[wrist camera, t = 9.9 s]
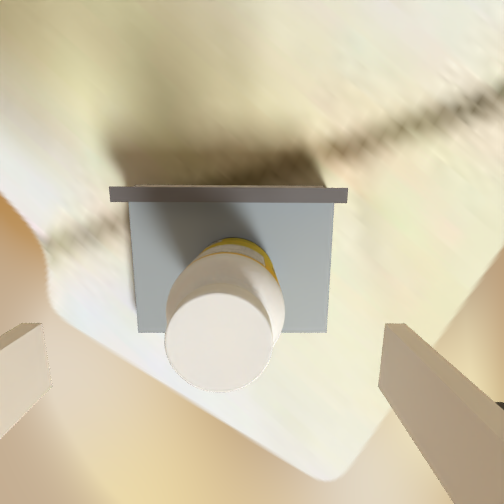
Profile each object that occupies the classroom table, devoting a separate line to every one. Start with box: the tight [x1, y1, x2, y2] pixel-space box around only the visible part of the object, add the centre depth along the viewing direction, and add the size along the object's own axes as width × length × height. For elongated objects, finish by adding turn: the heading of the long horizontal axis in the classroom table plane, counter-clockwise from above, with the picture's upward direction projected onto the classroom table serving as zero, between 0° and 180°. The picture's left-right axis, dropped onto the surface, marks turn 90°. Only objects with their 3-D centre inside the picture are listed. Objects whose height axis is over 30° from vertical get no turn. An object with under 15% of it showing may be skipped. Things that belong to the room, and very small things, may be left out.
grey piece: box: [109, 185, 348, 333], centre depth 23 cm, size 12×16×5 cm
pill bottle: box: [165, 237, 285, 393], centre depth 18 cm, size 6×6×12 cm
